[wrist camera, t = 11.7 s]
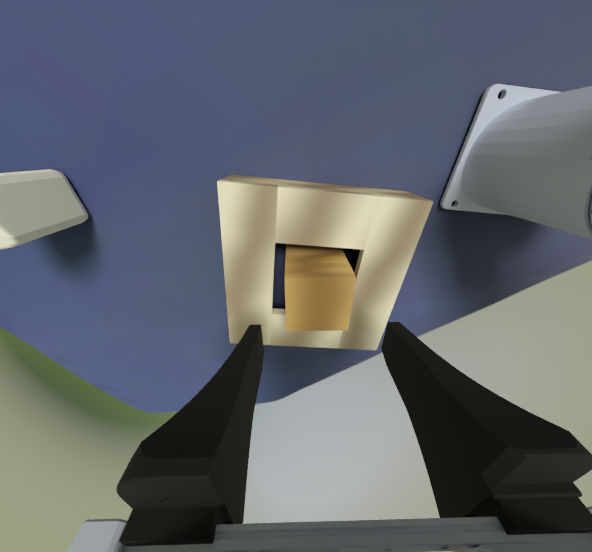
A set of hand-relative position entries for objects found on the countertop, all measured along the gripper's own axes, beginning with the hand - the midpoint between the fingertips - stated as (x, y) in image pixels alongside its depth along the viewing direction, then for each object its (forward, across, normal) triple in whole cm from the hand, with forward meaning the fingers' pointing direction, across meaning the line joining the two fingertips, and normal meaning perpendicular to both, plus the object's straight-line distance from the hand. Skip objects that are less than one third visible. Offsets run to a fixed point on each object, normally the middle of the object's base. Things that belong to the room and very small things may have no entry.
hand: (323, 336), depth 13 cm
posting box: (+10, 0, 0) cm, 10 cm away
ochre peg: (+10, 0, 0) cm, 10 cm away
